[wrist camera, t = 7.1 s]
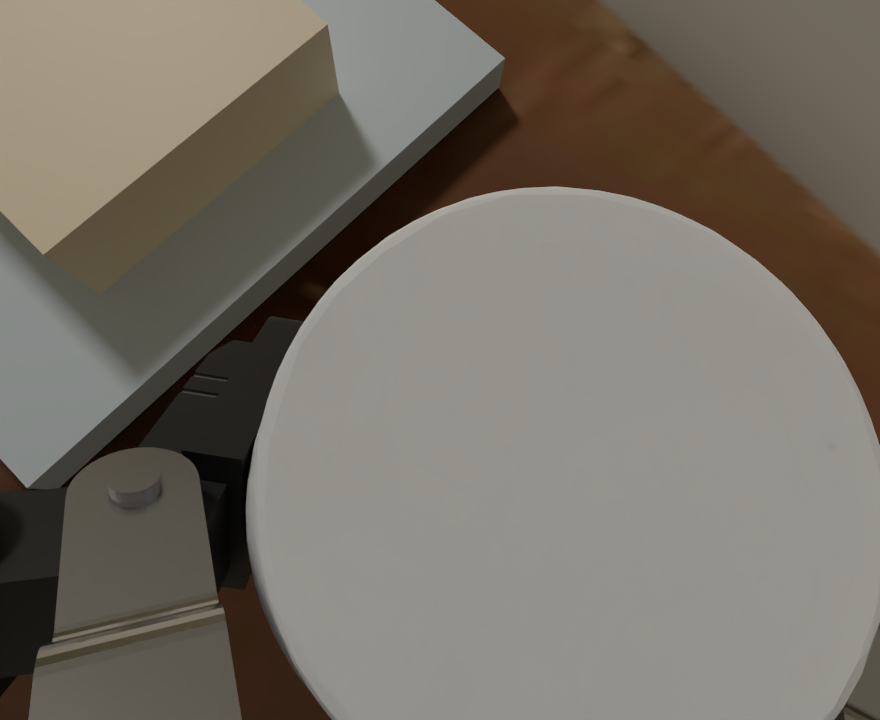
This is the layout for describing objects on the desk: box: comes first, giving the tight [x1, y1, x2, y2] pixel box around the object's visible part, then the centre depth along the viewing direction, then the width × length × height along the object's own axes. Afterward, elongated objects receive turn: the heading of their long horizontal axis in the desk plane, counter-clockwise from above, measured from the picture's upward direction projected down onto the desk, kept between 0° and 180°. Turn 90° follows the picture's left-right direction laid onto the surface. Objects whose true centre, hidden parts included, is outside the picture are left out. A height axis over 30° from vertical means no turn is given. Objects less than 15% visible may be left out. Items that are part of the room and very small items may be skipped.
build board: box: [0, 0, 505, 489], centre depth 20 cm, size 20×16×4 cm
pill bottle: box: [246, 187, 880, 720], centre depth 10 cm, size 6×6×11 cm
